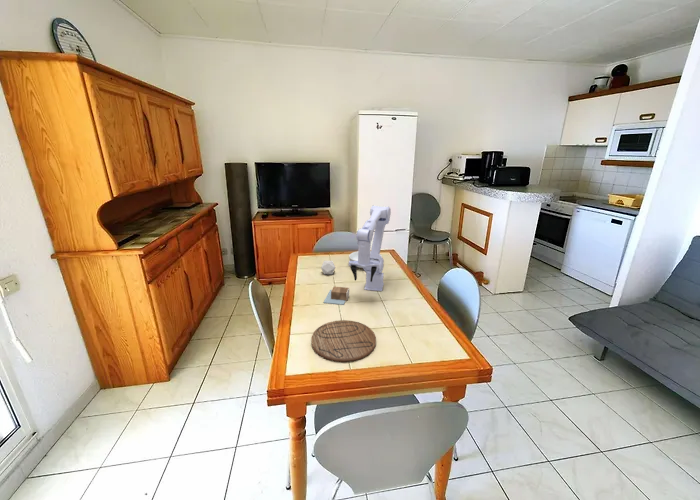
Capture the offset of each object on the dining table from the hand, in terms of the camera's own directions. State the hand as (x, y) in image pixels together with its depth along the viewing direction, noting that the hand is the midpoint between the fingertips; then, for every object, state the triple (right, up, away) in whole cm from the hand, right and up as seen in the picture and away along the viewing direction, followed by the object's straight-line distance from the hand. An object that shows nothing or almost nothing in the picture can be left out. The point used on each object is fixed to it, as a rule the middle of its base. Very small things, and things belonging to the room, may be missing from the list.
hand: (363, 280), depth 146 cm
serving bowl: (+3, +4, +47) cm, 47 cm away
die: (-20, +1, +34) cm, 39 cm away
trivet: (-9, -21, -29) cm, 37 cm away
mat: (-13, -9, +5) cm, 17 cm away
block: (-7, -7, +4) cm, 11 cm away
